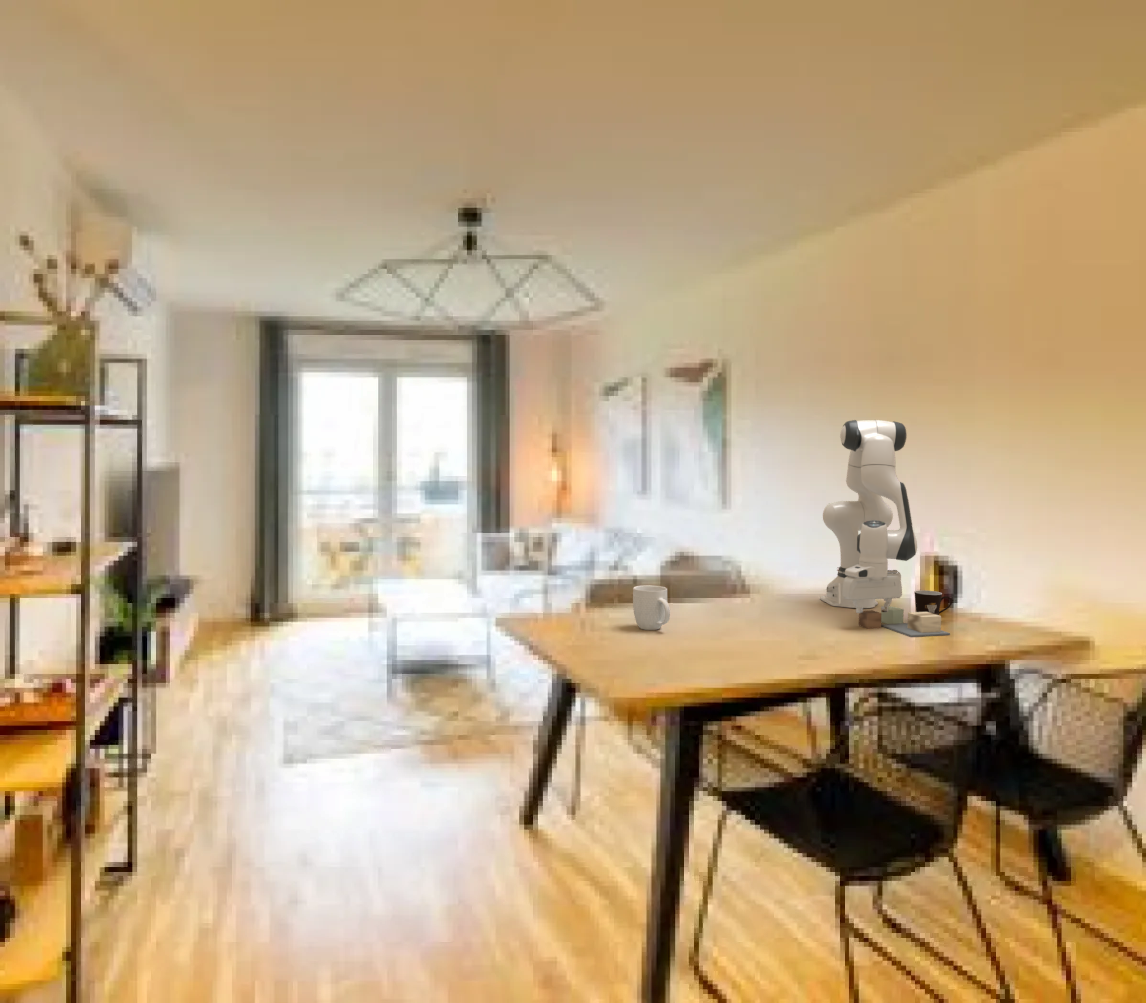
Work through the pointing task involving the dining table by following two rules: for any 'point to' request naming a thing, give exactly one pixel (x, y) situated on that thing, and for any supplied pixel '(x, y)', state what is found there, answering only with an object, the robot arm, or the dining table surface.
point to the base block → (924, 622)
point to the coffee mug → (929, 601)
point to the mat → (905, 630)
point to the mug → (650, 606)
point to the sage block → (892, 615)
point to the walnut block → (870, 619)
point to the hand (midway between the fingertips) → (872, 612)
